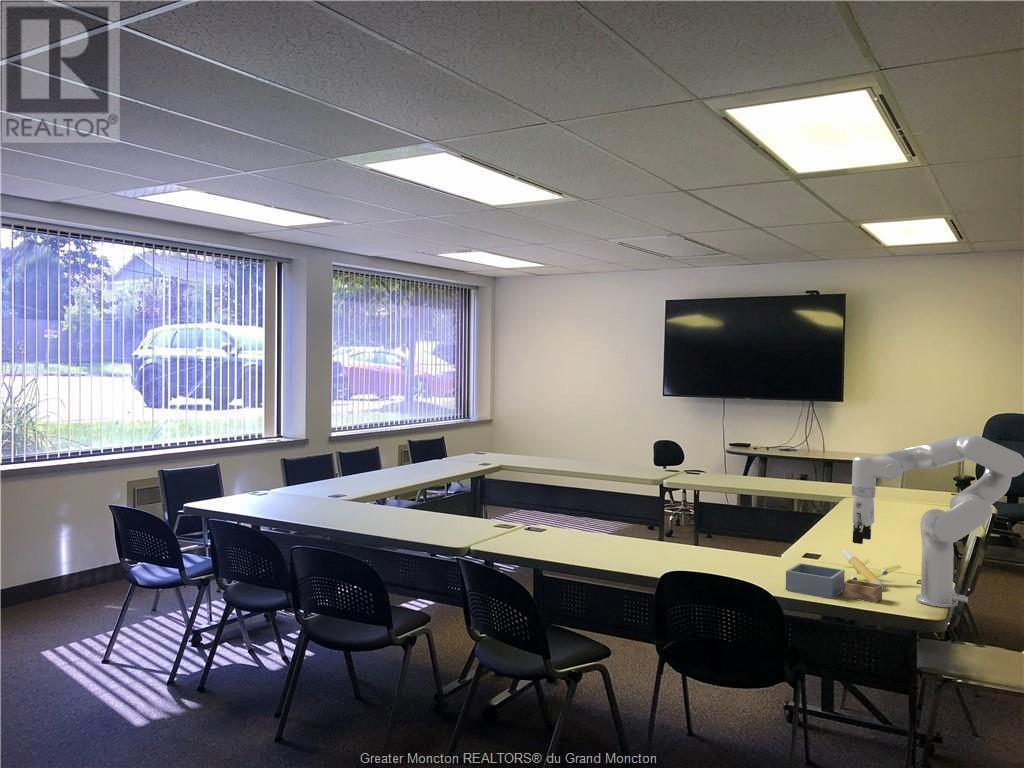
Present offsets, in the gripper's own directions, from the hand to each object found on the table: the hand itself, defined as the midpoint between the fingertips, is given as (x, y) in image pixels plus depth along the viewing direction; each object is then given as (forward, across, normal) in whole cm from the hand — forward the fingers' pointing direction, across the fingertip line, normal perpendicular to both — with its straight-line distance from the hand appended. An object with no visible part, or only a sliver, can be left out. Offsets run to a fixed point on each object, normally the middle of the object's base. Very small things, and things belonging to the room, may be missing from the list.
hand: (861, 541), depth 269 cm
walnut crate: (+20, 0, -1) cm, 20 cm away
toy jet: (+20, +23, +5) cm, 31 cm away
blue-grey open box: (+20, -1, +15) cm, 25 cm away
